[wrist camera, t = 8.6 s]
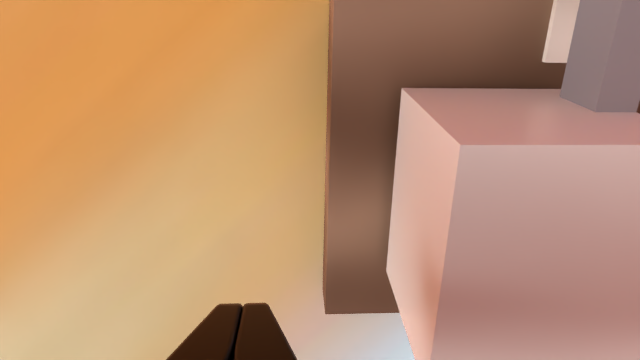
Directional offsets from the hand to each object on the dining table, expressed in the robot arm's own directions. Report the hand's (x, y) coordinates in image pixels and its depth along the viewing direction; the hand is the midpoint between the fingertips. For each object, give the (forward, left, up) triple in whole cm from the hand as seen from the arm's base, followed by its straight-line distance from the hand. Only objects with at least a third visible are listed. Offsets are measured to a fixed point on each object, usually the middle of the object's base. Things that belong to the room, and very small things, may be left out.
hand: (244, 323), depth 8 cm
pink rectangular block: (+2, -6, -6) cm, 9 cm away
